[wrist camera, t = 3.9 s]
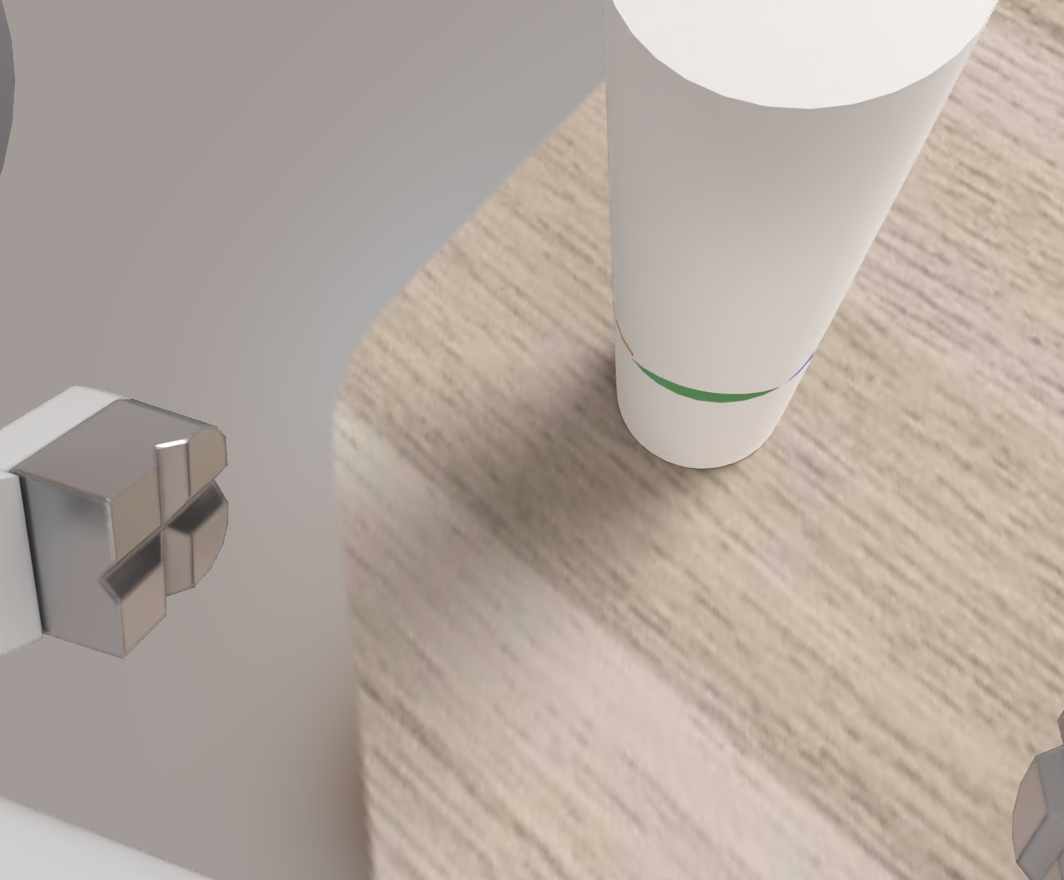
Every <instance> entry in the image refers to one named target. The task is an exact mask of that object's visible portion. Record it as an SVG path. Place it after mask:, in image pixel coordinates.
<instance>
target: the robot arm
mask: <svg viewBox="0 0 1064 880" xmlns="http://www.w3.org/2000/svg"><path fill="white" fill-rule="evenodd" d="M226 466H227V450H226V437H225V435H223V433H222V432H221V431H220V430H219V429H218V428H217V427H216V426H214V425H211V424H207V423H205V422H202V421H198V420H195V419H192V418H189V417H186V416H183V415H180V414H177V413H174V412H171V411H167V410H164V409H161V408H158V407H155V406H152V405H149V404H146V403H143V402H140V401H137V400H134V399H128V398H126V397H124V396H121V395H117V394H114V393H111V392H108V391H104V390H101V389H98V388H94V387H91V386H72V387H71V388H69V389H67V390H66V391H64V392H62V393H60V394H59V395H57V396H55V397H54V398H52V399H50V400H49V401H47V402H45V403H44V404H42V405H40V406H38V407H37V408H35V409H34V410H32V411H30V412H28V413H27V414H25V415H23V416H22V417H20V418H18V419H17V420H15V421H13V422H12V423H10V424H8V425H6V426H5V427H3V428H1V429H0V656H3V655H5V654H7V653H10V652H12V651H14V650H17V649H19V648H21V647H24V646H26V645H28V644H31V643H33V642H35V641H38V640H40V639H42V638H43V634H46V635H50V636H53V637H56V638H59V639H62V640H65V641H69V642H72V643H75V644H78V645H81V646H84V647H87V648H90V649H94V650H96V651H100V652H103V653H106V654H109V655H112V656H115V657H119V658H122V659H123V658H124V657H126V656H127V655H128V653H130V651H132V650H133V648H134V647H135V646H136V645H137V644H138V643H139V642H140V641H141V640H142V639H143V638H144V637H145V636H146V635H147V634H148V633H149V632H150V631H151V630H152V629H153V628H154V627H155V626H156V625H157V624H158V623H159V622H160V621H161V620H162V619H163V618H164V617H165V616H166V597H167V596H170V595H173V594H176V593H179V592H182V591H185V590H188V589H191V588H194V587H195V586H196V585H197V583H198V582H199V581H200V580H201V579H202V578H203V577H204V576H205V575H206V574H207V573H208V572H209V571H210V569H211V568H212V565H213V563H214V562H215V560H216V558H217V556H218V554H219V552H220V550H221V548H222V546H223V544H224V539H225V535H226V530H227V525H228V501H227V499H226V498H225V497H224V494H223V493H222V491H221V490H220V488H219V486H218V485H217V483H216V481H215V480H214V479H215V478H216V477H217V476H218V475H219V474H220V472H222V471H223V469H224V468H225V467H226ZM1058 725H1059V729H1060V733H1061V737H1062V741H1063V745H1061V746H1059V747H1056V748H1054V749H1051V750H1049V751H1046V752H1044V753H1041V754H1039V755H1037V756H1035V758H1034V759H1033V761H1032V763H1031V765H1030V767H1029V768H1028V770H1027V772H1026V774H1025V776H1024V777H1023V779H1022V781H1021V783H1020V787H1019V791H1018V794H1017V798H1016V802H1015V806H1014V810H1013V826H1012V839H1013V846H1014V852H1015V859H1016V863H1017V864H1018V865H1019V867H1020V868H1021V869H1022V870H1023V872H1024V873H1025V874H1026V876H1027V877H1028V878H1029V879H1030V880H1064V711H1063V712H1062V714H1061V715H1060V717H1059V719H1058ZM0 880H217V879H215V878H212V877H210V876H207V875H205V874H202V873H199V872H197V871H194V870H192V869H189V868H186V867H184V866H181V865H179V864H176V863H174V862H171V861H169V860H166V859H164V858H161V857H158V856H156V855H153V854H151V853H148V852H146V851H143V850H141V849H138V848H135V847H133V846H130V845H128V844H125V843H122V842H120V841H117V840H115V839H112V838H110V837H107V836H104V835H102V834H99V833H97V832H94V831H92V830H89V829H87V828H84V827H81V826H79V825H77V824H74V823H71V822H69V821H66V820H63V819H61V818H58V817H56V816H53V815H51V814H48V813H46V812H43V811H41V810H38V809H36V808H33V807H30V806H28V805H25V804H23V803H20V802H18V801H15V800H12V799H10V798H7V797H5V796H2V795H0Z"/></svg>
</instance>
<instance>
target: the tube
mask: <svg viewBox="0 0 1064 880" xmlns="http://www.w3.org/2000/svg"><path fill="white" fill-rule="evenodd" d="M997 2H998V0H603V18H604V19H603V20H604V49H605V78H606V107H607V135H608V164H609V193H610V221H611V250H612V278H613V306H614V333H615V361H616V388H617V398H618V405H619V408H620V411H621V415H622V418H623V420H624V422H625V423H626V425H627V427H628V429H629V431H630V432H631V433H632V434H633V436H634V437H635V438H636V439H637V441H638V442H639V443H640V444H641V445H643V446H644V447H645V448H646V449H647V450H649V451H650V452H651V453H652V454H654V455H656V456H658V457H660V458H661V459H663V460H665V461H667V462H670V463H673V464H676V465H680V466H683V467H690V468H699V469H704V468H716V467H721V466H725V465H728V464H732V463H735V462H737V461H739V460H741V459H743V458H745V457H747V456H749V455H750V454H752V453H753V452H754V451H756V450H757V449H758V448H760V447H761V446H762V445H763V444H764V442H765V441H766V440H767V439H768V438H769V437H770V436H771V435H772V433H773V431H774V429H775V428H776V426H777V424H778V422H779V421H780V419H781V417H782V415H783V413H784V411H785V409H786V407H787V405H788V403H789V401H790V399H791V397H792V396H793V394H794V392H795V390H796V388H797V386H798V384H799V382H800V380H801V378H802V376H803V374H804V372H805V371H806V369H807V367H808V365H809V363H810V361H811V359H812V357H813V355H814V353H815V351H816V349H817V348H818V346H819V344H820V342H821V339H822V338H823V336H824V334H825V332H826V330H827V328H828V327H829V325H830V323H831V321H832V319H833V317H834V315H835V313H836V312H837V310H838V308H839V306H840V304H841V302H842V300H843V298H844V296H845V294H846V293H847V291H848V289H849V287H850V285H851V283H852V281H853V279H854V277H855V275H856V273H857V271H858V269H859V268H860V266H861V264H862V262H863V260H864V258H865V256H866V254H867V252H868V250H869V248H870V246H871V245H872V243H873V241H874V239H875V237H876V235H877V233H878V231H879V229H880V227H881V225H882V223H883V221H884V220H885V218H886V216H887V214H888V212H889V210H890V208H891V206H892V204H893V202H894V200H895V198H896V196H897V195H898V193H899V191H900V189H901V187H902V185H903V183H904V181H905V179H906V177H907V175H908V173H909V171H910V170H911V168H912V166H913V164H914V162H915V160H916V158H917V156H918V154H919V152H920V150H921V148H922V147H923V145H924V143H925V141H926V139H927V137H928V135H929V133H930V131H931V129H932V127H933V125H934V123H935V122H936V120H937V118H938V116H939V114H940V112H941V110H942V108H943V106H944V104H945V102H946V100H947V98H948V97H949V95H950V93H951V91H952V89H953V87H954V85H955V83H956V81H957V79H958V77H959V75H960V74H961V72H962V70H963V68H964V66H965V64H966V62H967V60H968V58H969V56H970V54H971V52H972V50H973V49H974V47H975V45H976V43H977V41H978V39H979V37H980V35H981V33H982V31H983V29H984V27H985V25H986V24H987V22H988V20H989V18H990V16H991V14H992V12H993V10H994V8H995V6H996V4H997Z"/></svg>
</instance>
